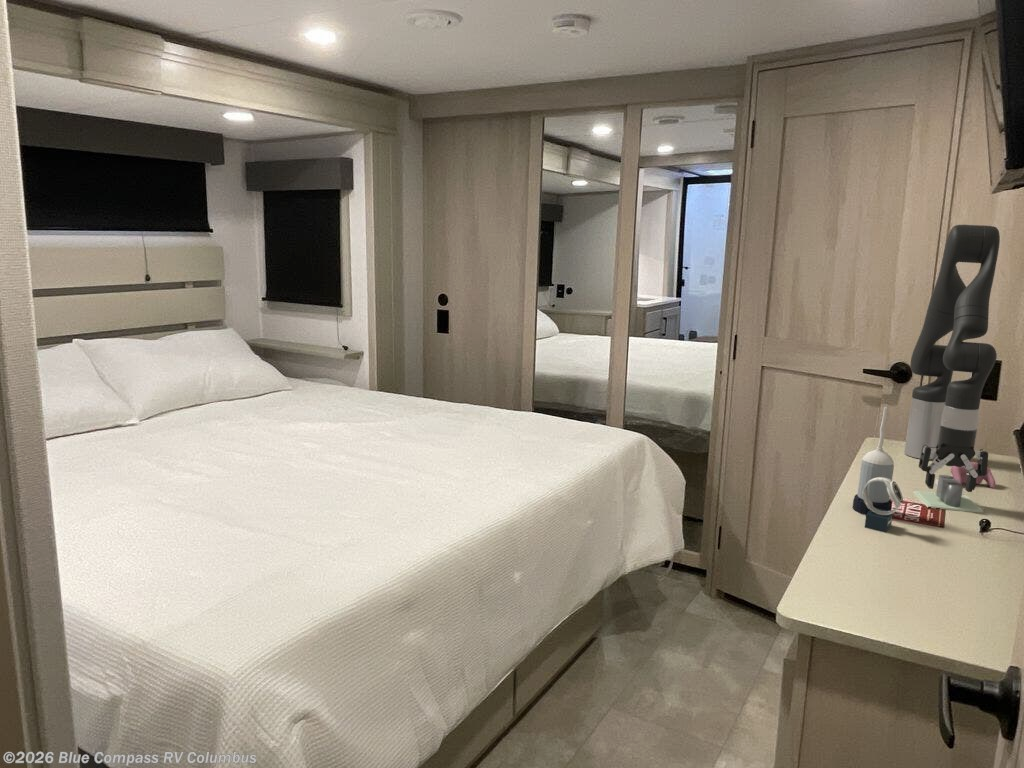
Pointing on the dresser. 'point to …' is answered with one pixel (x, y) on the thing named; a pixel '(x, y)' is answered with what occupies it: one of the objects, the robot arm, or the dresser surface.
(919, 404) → the robot arm
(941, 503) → the mat
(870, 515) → the watch
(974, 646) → the dresser surface
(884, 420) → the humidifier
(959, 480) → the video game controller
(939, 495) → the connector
